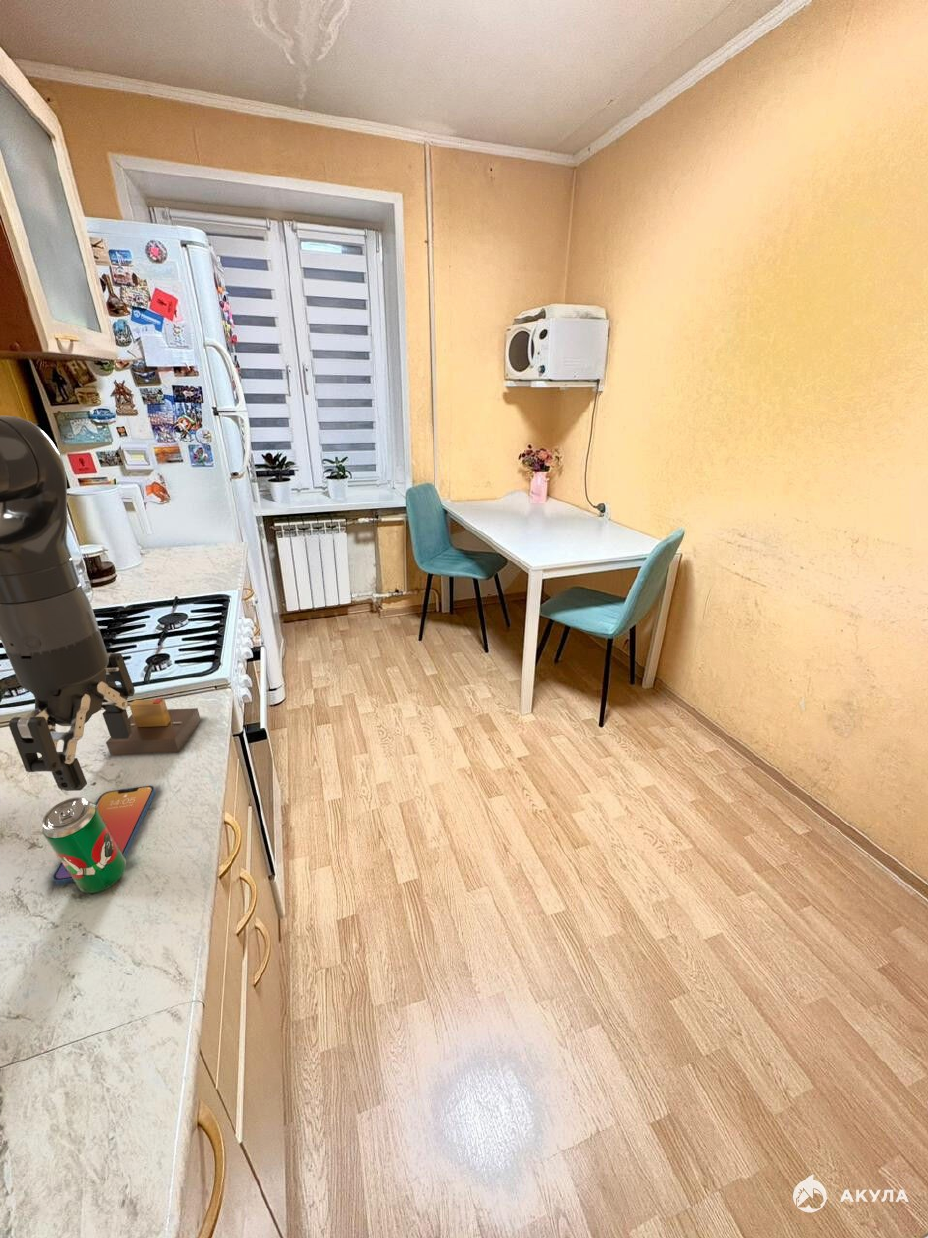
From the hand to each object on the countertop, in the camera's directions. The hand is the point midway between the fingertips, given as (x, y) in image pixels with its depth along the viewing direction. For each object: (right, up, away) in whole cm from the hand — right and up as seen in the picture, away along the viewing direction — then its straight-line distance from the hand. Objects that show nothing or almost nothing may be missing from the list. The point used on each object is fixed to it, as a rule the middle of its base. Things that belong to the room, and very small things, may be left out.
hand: (100, 761), depth 56 cm
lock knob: (-12, -2, +29) cm, 32 cm away
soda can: (-4, -16, +6) cm, 17 cm away
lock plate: (-12, -5, +31) cm, 33 cm away
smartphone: (-7, -13, +12) cm, 19 cm away
